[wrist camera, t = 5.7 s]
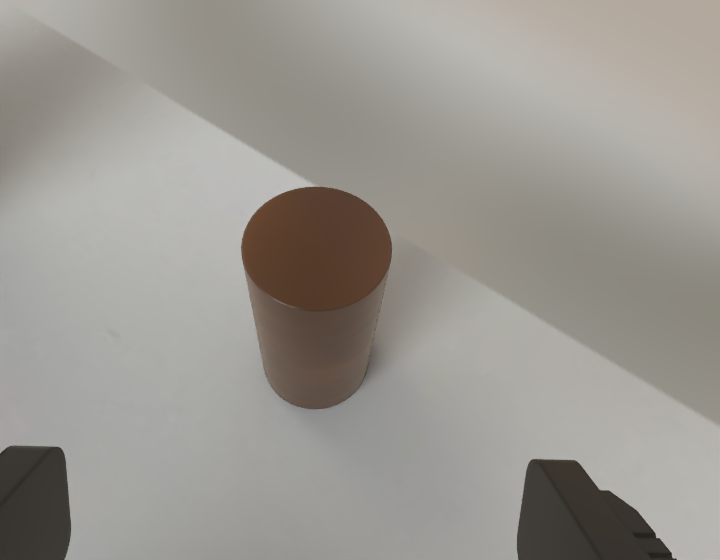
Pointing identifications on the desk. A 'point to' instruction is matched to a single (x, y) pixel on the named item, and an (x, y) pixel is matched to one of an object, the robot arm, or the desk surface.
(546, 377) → the desk surface
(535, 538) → the robot arm
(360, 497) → the desk surface
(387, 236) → the post
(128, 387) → the desk surface
